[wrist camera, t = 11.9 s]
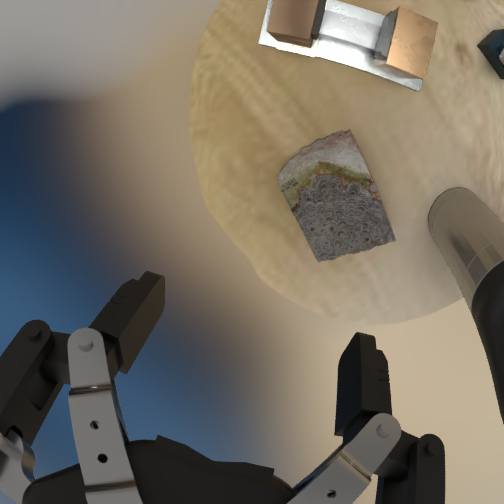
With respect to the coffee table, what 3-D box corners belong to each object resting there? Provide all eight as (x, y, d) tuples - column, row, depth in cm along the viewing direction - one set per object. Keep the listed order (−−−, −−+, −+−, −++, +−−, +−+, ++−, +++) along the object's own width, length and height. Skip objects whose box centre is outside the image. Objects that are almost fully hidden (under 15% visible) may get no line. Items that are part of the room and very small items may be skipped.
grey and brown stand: (431, 35, 25) (461, 26, 17) (417, 92, 30) (444, 98, 22) (272, -12, 26) (258, -36, 19) (259, 45, 31) (241, 36, 23)
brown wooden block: (277, 41, 29) (265, 31, 23) (288, -6, 26) (279, -26, 19) (316, 49, 29) (315, 41, 22) (327, 2, 25) (328, -17, 19)
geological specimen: (322, 271, 40) (266, 174, 34) (322, 245, 45) (274, 158, 39) (397, 245, 36) (353, 135, 29) (389, 221, 41) (348, 124, 34)
